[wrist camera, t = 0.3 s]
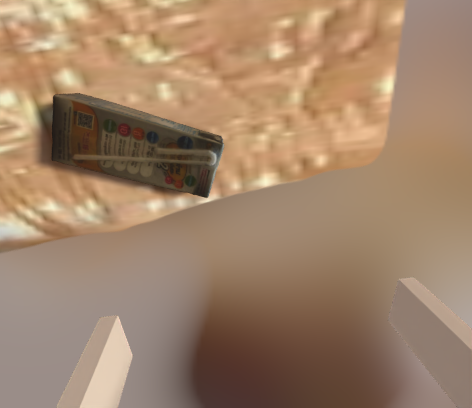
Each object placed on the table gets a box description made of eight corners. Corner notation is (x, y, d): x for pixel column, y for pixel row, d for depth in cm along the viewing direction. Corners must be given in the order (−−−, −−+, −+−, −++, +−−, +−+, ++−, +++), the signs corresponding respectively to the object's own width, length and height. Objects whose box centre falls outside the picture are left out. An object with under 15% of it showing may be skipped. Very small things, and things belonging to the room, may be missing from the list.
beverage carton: (208, 186, 38) (208, 203, 32) (73, 151, 34) (43, 163, 28) (223, 135, 35) (226, 143, 29) (77, 90, 31) (45, 89, 25)
